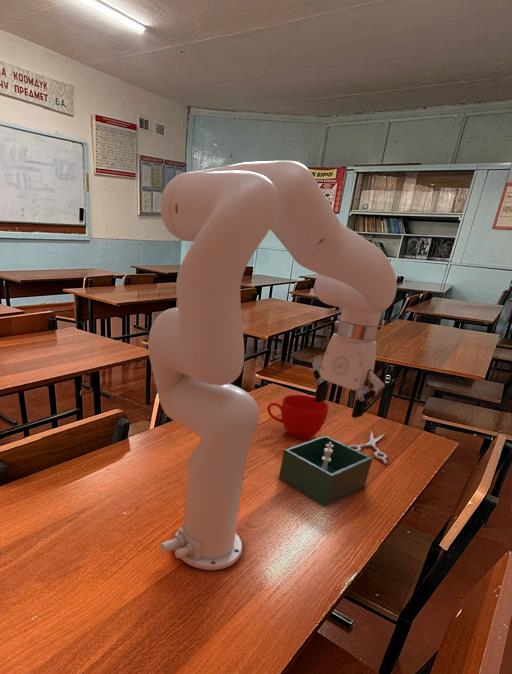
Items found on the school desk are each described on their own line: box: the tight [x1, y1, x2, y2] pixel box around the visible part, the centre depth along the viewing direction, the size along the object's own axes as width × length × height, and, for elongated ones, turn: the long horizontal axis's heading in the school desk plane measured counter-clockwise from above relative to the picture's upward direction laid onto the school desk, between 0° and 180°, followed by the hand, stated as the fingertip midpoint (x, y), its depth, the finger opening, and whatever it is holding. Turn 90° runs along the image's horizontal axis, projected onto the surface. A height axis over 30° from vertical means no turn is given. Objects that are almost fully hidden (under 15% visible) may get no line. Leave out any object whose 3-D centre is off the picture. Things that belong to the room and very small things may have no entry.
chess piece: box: [321, 442, 334, 471], centre depth 102 cm, size 5×5×10 cm
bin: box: [278, 435, 374, 507], centre depth 103 cm, size 16×14×8 cm
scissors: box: [348, 429, 388, 465], centre depth 125 cm, size 11×1×20 cm
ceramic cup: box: [267, 394, 330, 440], centre depth 127 cm, size 13×17×10 cm
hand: (337, 408), depth 96 cm, fingers open, 9 cm apart
